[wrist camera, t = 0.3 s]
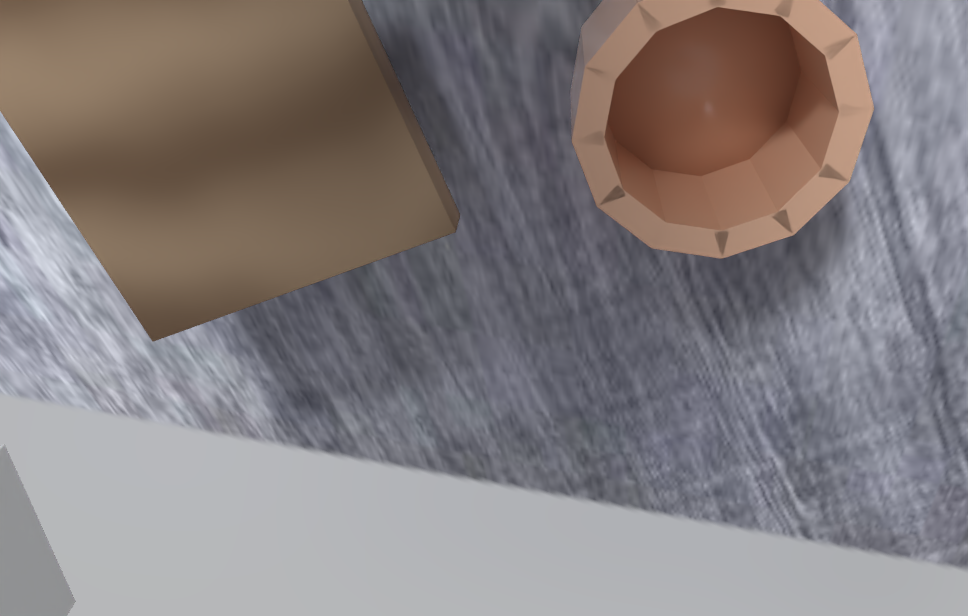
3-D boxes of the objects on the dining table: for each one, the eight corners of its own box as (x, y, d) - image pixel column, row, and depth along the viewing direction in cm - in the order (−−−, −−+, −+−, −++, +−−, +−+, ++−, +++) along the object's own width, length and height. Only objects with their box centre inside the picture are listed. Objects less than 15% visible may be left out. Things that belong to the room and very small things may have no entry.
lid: (-29, 15, 30) (-57, 25, 28) (295, -145, 27) (281, -142, 25) (168, 321, 35) (152, 341, 33) (460, 214, 32) (455, 232, 30)
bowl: (538, 7, 33) (534, 44, 28) (785, -96, 31) (830, -77, 26) (619, 221, 37) (629, 289, 32) (845, 142, 35) (895, 201, 30)
